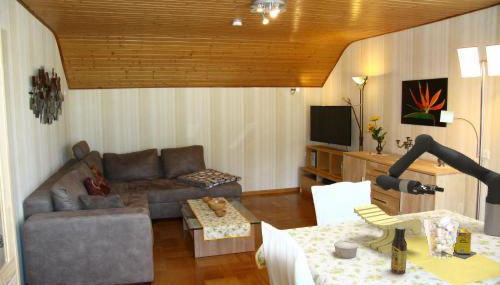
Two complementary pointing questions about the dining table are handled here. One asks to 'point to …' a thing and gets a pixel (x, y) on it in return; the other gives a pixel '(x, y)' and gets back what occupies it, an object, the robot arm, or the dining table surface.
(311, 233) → the dining table surface
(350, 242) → the ramekin
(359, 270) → the dining table surface
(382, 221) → the slatted curved stool
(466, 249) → the supplement box
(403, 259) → the sauce bottle
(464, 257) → the mat
